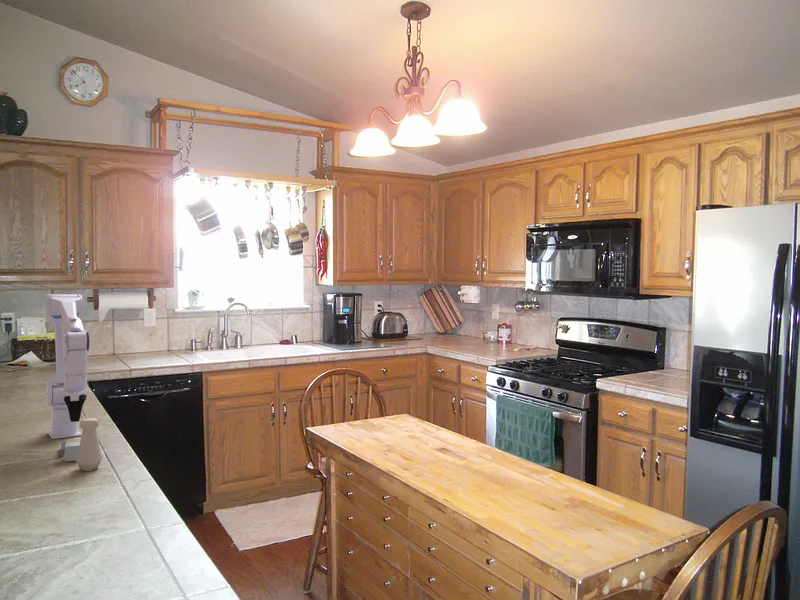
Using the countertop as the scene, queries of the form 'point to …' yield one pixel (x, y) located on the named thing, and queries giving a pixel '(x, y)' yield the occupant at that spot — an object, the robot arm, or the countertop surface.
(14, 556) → the countertop surface
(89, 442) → the salt shaker
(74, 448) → the block
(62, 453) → the grey flat bars
